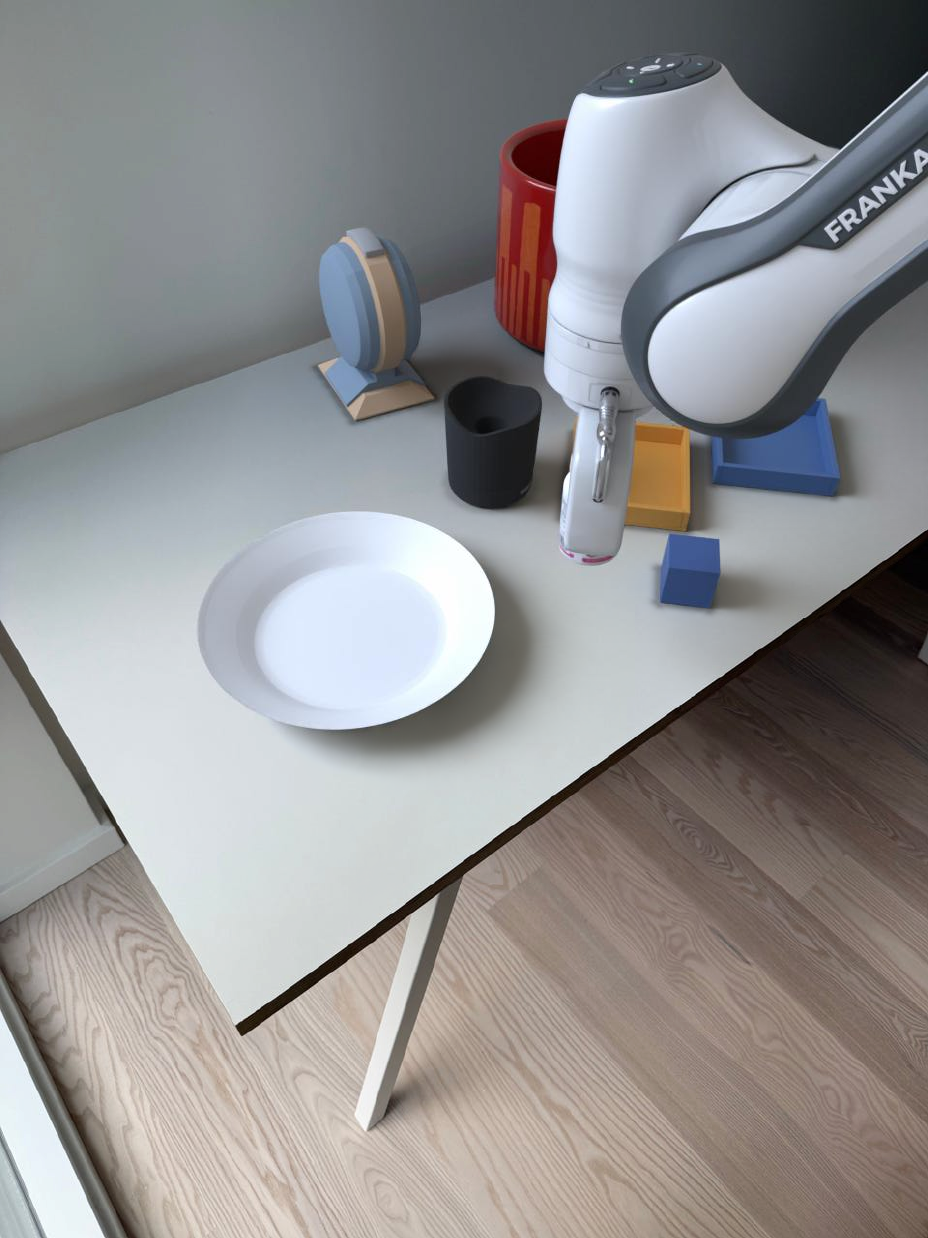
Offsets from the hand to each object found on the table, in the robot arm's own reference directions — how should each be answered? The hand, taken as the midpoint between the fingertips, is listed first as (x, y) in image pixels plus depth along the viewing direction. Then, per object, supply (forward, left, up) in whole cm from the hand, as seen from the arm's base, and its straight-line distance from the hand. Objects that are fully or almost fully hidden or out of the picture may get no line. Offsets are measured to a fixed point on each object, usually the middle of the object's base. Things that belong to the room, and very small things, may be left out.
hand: (593, 515), depth 67 cm
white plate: (+19, +2, -15) cm, 25 cm away
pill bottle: (0, 0, -3) cm, 3 cm away
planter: (+3, -56, -15) cm, 58 cm away
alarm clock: (+26, -37, -15) cm, 48 cm away
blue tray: (-19, -32, -15) cm, 40 cm away
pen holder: (+10, -21, -15) cm, 28 cm away
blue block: (-10, -9, -15) cm, 20 cm away
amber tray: (-4, -24, -15) cm, 28 cm away
